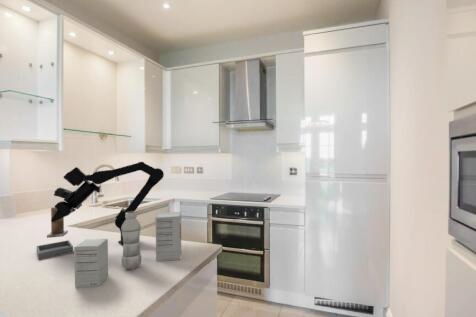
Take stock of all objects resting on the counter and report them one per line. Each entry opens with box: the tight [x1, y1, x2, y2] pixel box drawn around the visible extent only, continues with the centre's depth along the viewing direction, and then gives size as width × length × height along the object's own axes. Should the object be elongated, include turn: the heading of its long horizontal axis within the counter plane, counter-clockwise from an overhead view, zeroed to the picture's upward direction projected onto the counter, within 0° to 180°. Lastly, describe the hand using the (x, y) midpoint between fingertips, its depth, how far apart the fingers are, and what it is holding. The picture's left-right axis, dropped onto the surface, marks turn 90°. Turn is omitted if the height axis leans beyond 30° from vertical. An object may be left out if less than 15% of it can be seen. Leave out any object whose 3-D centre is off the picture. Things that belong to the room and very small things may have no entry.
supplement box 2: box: [155, 211, 182, 262], centre depth 103 cm, size 10×9×17 cm
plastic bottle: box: [120, 210, 142, 270], centre depth 92 cm, size 6×7×20 cm
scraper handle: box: [46, 206, 69, 239], centre depth 111 cm, size 6×6×12 cm
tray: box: [36, 239, 74, 260], centre depth 109 cm, size 12×12×2 cm
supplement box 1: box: [73, 238, 109, 288], centre depth 82 cm, size 7×7×13 cm
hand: (53, 220), depth 111 cm, fingers closed on scraper handle, 4 cm apart
